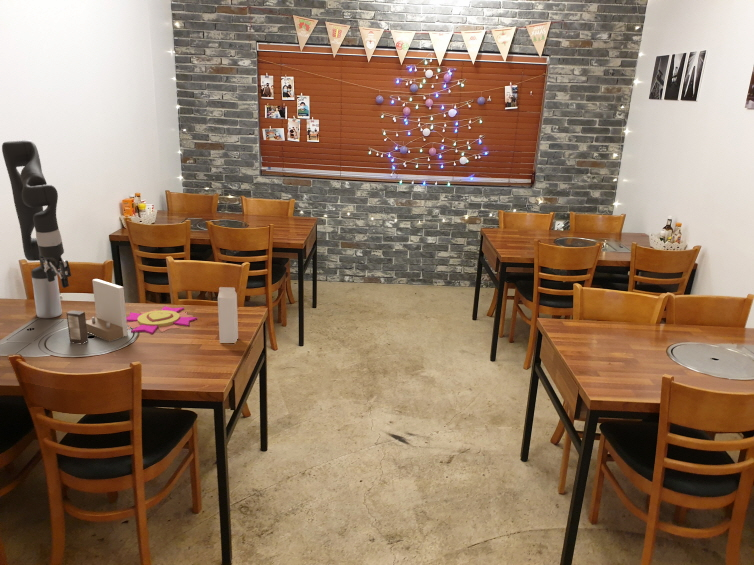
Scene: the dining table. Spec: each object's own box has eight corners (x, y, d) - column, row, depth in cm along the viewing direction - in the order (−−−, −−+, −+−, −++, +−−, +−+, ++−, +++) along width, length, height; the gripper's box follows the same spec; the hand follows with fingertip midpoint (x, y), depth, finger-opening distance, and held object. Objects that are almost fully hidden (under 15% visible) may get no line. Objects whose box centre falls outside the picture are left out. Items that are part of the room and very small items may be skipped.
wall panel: (83, 331, 232) (77, 283, 226) (101, 325, 238) (96, 278, 233) (109, 341, 223) (104, 292, 217) (128, 335, 230) (123, 287, 224)
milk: (235, 344, 226) (233, 290, 219) (219, 343, 226) (217, 289, 219) (238, 338, 232) (236, 285, 225) (222, 337, 231) (220, 284, 225)
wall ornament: (105, 325, 233) (141, 301, 262) (105, 331, 234) (142, 306, 262) (177, 331, 231) (206, 306, 259) (178, 337, 231) (206, 311, 260)
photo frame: (69, 342, 221) (66, 313, 217) (75, 339, 224) (72, 310, 220) (82, 344, 220) (78, 314, 216) (88, 341, 223) (84, 311, 219)
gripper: (27, 240, 204) (36, 282, 210) (51, 249, 197) (60, 292, 204) (48, 234, 209) (56, 275, 216) (72, 243, 203) (80, 285, 210)
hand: (58, 284), depth 210 cm, fingers open, 8 cm apart
